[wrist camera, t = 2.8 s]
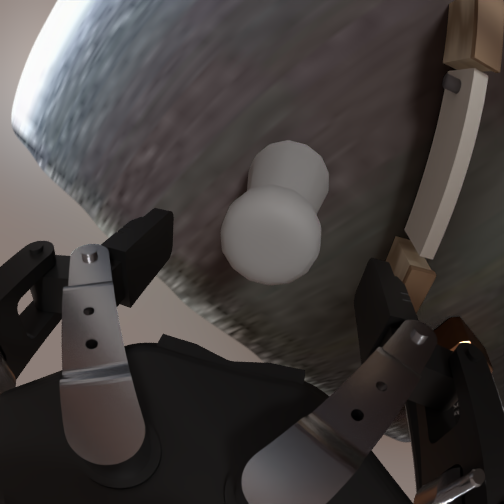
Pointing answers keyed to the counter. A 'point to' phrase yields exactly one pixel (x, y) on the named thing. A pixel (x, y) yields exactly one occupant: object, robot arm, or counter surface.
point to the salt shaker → (277, 215)
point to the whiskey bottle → (450, 338)
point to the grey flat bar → (447, 159)
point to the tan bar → (458, 57)
